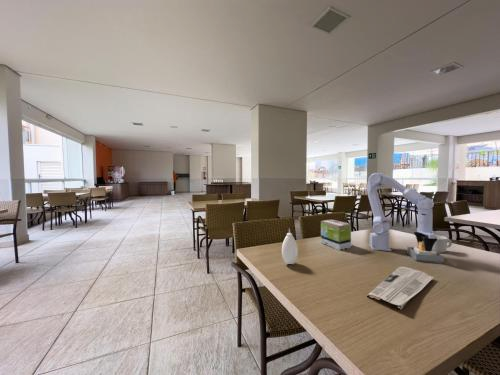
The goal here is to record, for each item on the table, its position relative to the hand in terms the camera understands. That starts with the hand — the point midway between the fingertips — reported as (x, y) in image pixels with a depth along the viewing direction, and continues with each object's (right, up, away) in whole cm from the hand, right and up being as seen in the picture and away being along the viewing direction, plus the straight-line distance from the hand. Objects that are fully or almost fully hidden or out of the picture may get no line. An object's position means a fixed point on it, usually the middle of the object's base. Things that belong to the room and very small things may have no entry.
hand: (424, 248), depth 106 cm
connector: (0, -4, 0) cm, 4 cm away
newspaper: (-31, -8, -27) cm, 42 cm away
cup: (+16, -4, +9) cm, 19 cm away
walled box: (0, -5, 0) cm, 5 cm away
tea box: (-36, -5, +23) cm, 43 cm away
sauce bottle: (-69, -7, -3) cm, 70 cm away
